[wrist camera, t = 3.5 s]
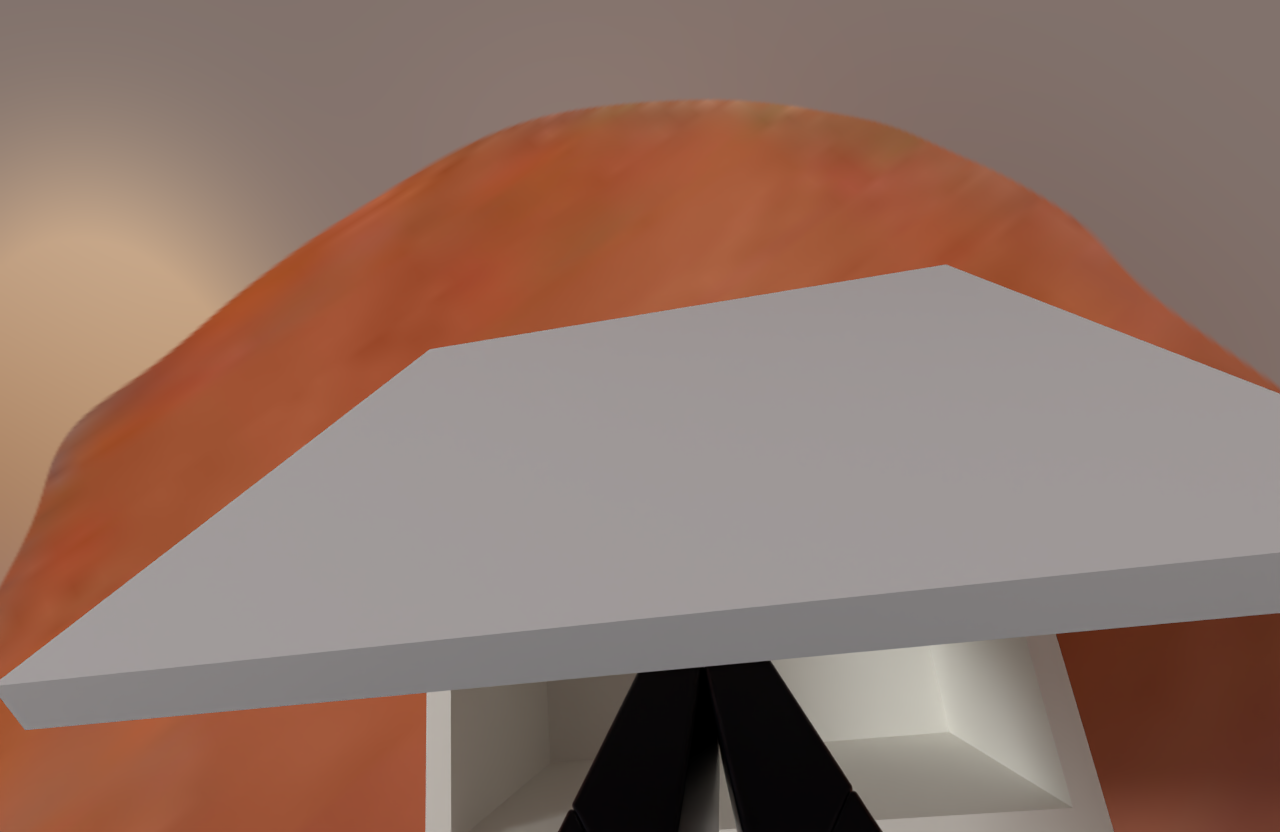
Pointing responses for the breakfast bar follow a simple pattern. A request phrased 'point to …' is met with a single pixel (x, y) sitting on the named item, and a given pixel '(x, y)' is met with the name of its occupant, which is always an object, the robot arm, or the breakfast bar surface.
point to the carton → (844, 719)
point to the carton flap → (705, 507)
